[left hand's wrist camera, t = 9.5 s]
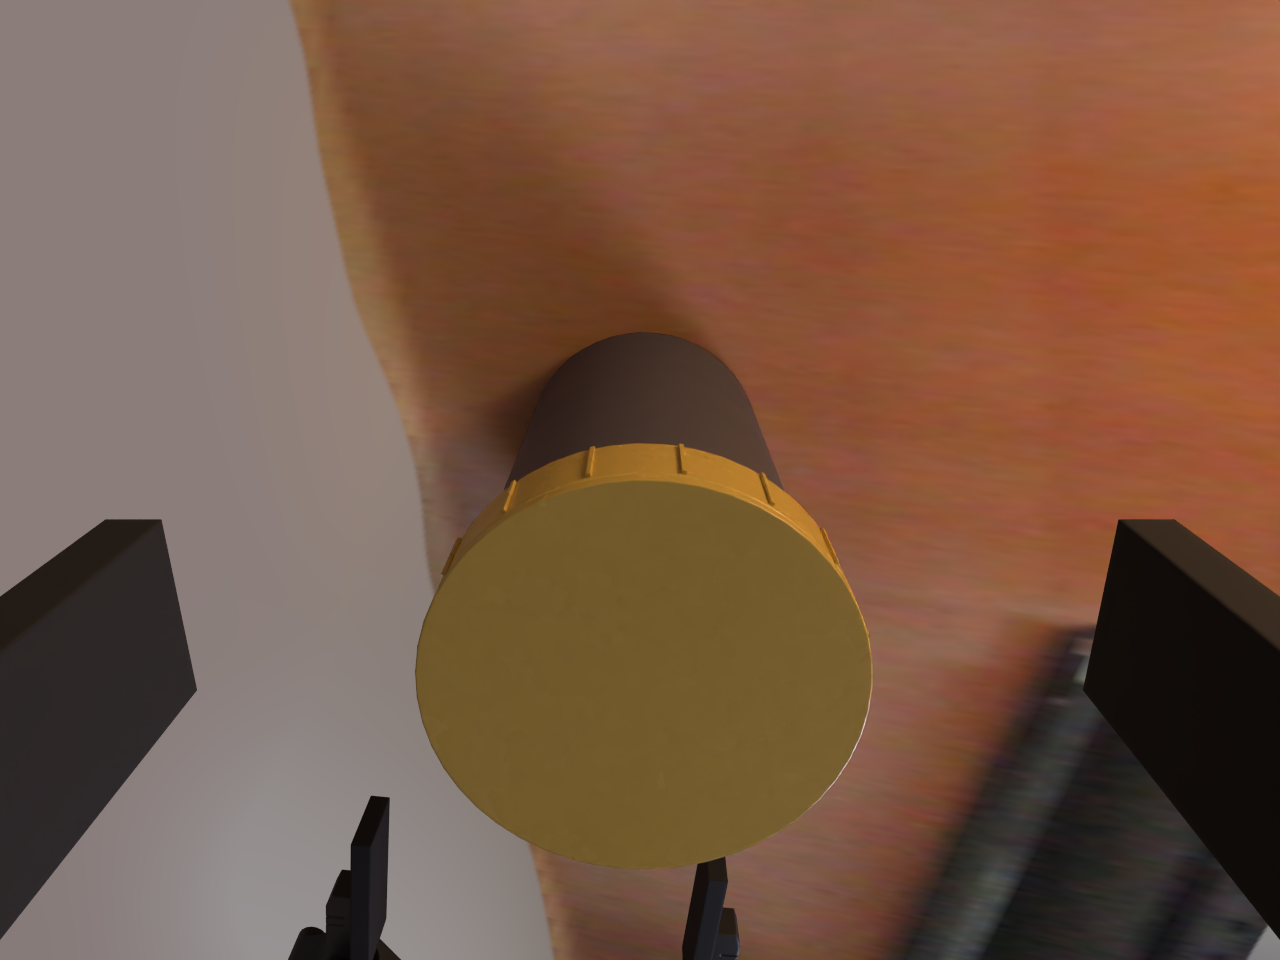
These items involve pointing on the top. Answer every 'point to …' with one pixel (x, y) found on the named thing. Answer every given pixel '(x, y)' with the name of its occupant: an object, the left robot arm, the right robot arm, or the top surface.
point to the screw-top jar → (643, 405)
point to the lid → (644, 659)
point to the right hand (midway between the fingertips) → (544, 836)
